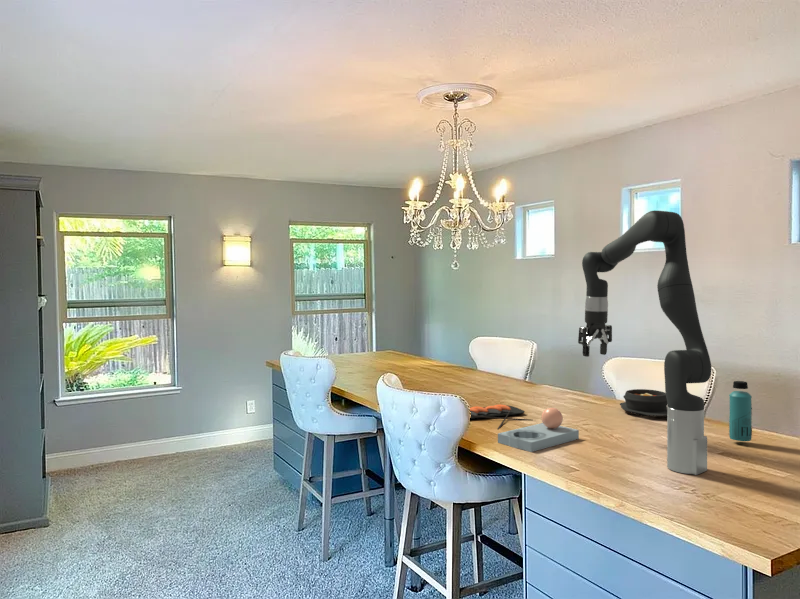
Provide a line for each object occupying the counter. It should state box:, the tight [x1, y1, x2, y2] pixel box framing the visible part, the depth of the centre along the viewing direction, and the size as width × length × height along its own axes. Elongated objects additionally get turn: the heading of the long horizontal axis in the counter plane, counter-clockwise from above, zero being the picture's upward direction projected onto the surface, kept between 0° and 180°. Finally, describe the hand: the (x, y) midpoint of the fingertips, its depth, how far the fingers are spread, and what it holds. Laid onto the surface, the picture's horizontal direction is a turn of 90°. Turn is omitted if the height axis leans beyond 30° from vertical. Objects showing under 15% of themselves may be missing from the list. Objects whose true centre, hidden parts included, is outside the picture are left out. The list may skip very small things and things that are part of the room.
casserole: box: [619, 388, 667, 417], centre depth 234 cm, size 25×19×8 cm
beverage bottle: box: [728, 380, 753, 442], centre depth 189 cm, size 6×7×20 cm
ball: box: [541, 407, 564, 429], centre depth 199 cm, size 7×7×7 cm
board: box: [497, 422, 580, 453], centre depth 195 cm, size 14×24×3 cm, turn 127°
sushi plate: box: [469, 404, 532, 430], centre depth 227 cm, size 29×30×4 cm
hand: (594, 355), depth 207 cm, fingers open, 8 cm apart
